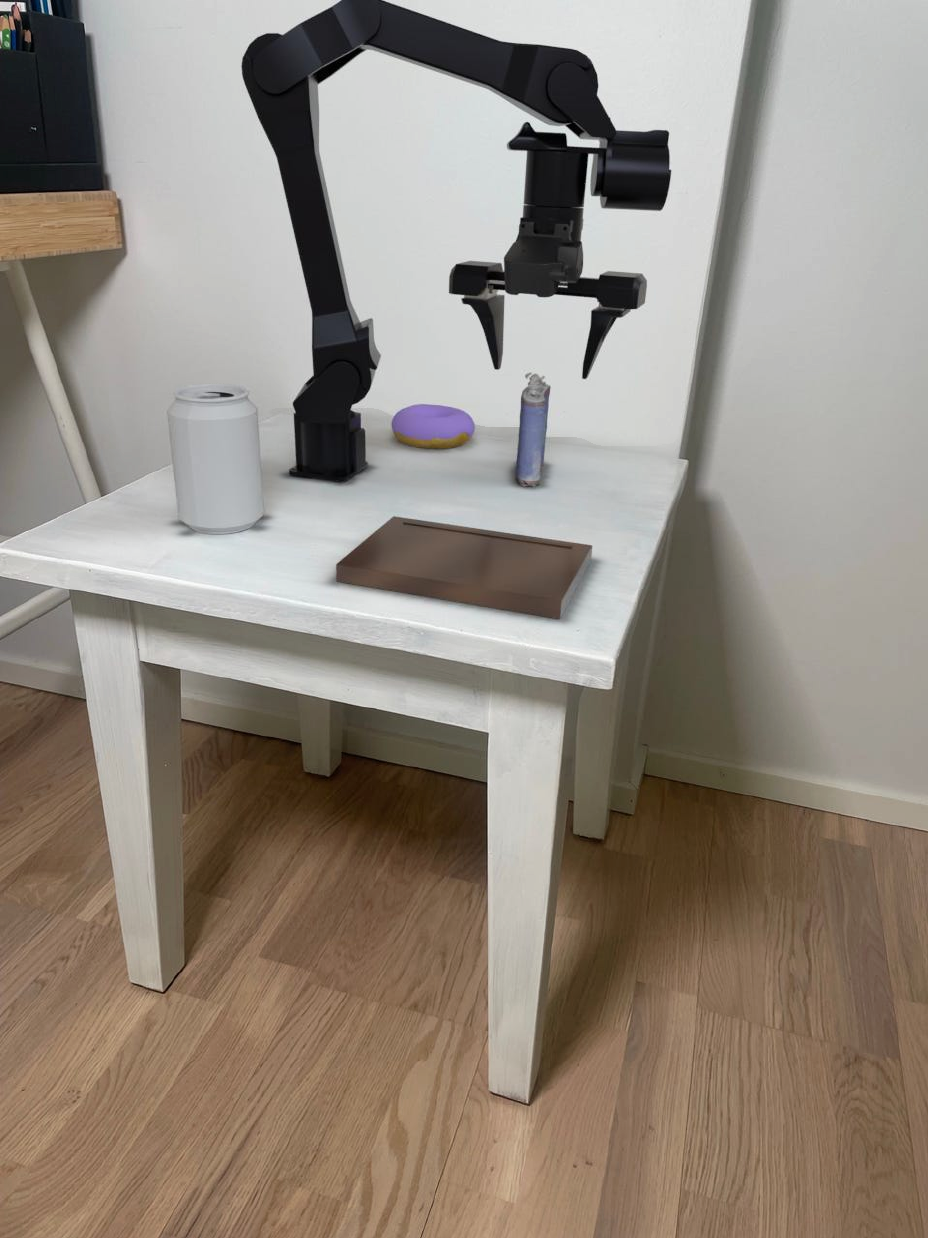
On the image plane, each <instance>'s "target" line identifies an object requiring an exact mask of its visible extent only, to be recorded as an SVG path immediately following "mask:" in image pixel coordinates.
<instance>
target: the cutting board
mask: <svg viewBox="0 0 928 1238" xmlns="http://www.w3.org/2000/svg"><path fill="white" fill-rule="evenodd" d="M592 554H593V545H592V544H587V543H579V542H573V541H567V540H566V541H565V540H559V539H551V538H545V537H539V536H531V535H526V534H517V533H511V532H503V531H499V530H498V531H497V530H490V529H485V528H484V529H483V528H477V527H470V526H463V525H458V524H457V525H456V524H450V523H442V522H437V521H436V522H435V521H428V520H423V519H422V520H421V519H415V518H409V517H401V516H395V515H394V516H392V517H391V518H390V519H389V520H387V521H386V522H384V523H383V524H382V525H381V526H380V527H379V528H378V529H377V530H375V531H374V532H373V533H371V534H370V535H369V536H368V537H367V538H366V539H365V540H363V541H362V542H360V544H359V545H357V546H356V547H355V548H353V550H351V551H350V552H349V553H348V554H347V555H345V556H344V557H342V559H341V560H339V561H338V562H337V563H336V564H335V573H336V575H335V576H336V582H338V583H343V584H349V585H350V584H352V585H356V586H361V587H367V588H368V587H369V588H374V589H379V590H385V591H390V592H391V591H392V592H398V593H402V594H410V595H415V596H421V597H426V598H433V599H439V600H445V601H451V602H456V603H457V602H458V603H461V604H462V603H463V604H469V605H474V606H480V607H487V608H491V609H498V610H503V611H509V612H514V613H515V612H516V613H522V614H526V615H534V616H538V617H544V618H550V619H556V620H560V619H561V618H562V616H563V614H564V612H565V610H566V608H567V607H568V605H569V603H570V601H571V599H572V597H573V595H574V593H575V592H576V590H577V588H578V586H579V584H580V582H581V580H582V578H583V577H584V575H585V573H586V571H587V569H588V567H589V565H590V563H591V562H592Z"/></svg>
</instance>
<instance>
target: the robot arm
mask: <svg viewBox="0 0 928 1238" xmlns="http://www.w3.org/2000/svg"><path fill="white" fill-rule="evenodd" d="M368 50H369V51H374V52H376V53H380V54H383V55H386V56H388V57H392V58H394V59H398V60H401V61H404V62H407V63H410V64H413V65H415V66H417V67H421V68H424V69H427V70H430V71H433V72H436V73H439V74H442V75H445V76H447V77H451V78H454V79H457V80H460V81H463V82H466V83H468V84H471V85H474V86H477V87H480V88H484V89H485V90H488V91H490V92H492V93H494V94H495V95H497V96H498V97H500V98H502V99H504V100H505V101H507V102H508V103H510V104H511V105H513V106H514V107H516V108H518V109H519V110H521V111H523V112H525V113H526V114H528V115H530V116H531V117H533V118H535V119H537V120H539V121H540V122H542V123H544V124H546V125H548V126H554V127H566V128H567V129H568V130H569V131H570V132H572V133H573V134H574V135H575V136H576V137H578V139H580V140H591V141H598V142H599V147H591V146H572V145H568V137H567V136H568V135H567V133H565V132H553V131H552V132H551V131H549V132H548V131H536V130H535V129H534V128H533V126H532V125H531V122H529V121H525V122H524V123H522V125H521V127H520V129H519V131H518V132H517V133H516V135H514V136H513V137H512V138H511V139H510V140H509V141H507V143H506V148H507V150H508V151H514V152H515V151H516V152H526V160H525V162H526V163H525V175H524V177H525V178H524V191H523V206H522V217H520V219H519V225H518V234H517V236H516V239H515V241H514V242H513V243H512V244H511V246H510V247H509V248H508V250H507V251H506V253H505V255H504V257H503V264H502V262H492V261H479V260H467V261H463V262H459V263H455V265H453V267H452V268H451V270H450V273H449V277H448V294H449V295H457V296H463V297H462V298H461V300H460V301H461V303H462V305H468V306H470V307H471V309H472V310H473V311H474V313H475V314H476V316H477V318H478V320H479V322H480V325H481V328H482V330H483V333H484V337H485V340H486V343H487V347H488V352H489V354H490V358H491V362H492V365H493V369H494V370H495V371H496V370H497V371H498V370H500V369H501V368H502V361H503V355H504V332H505V331H504V328H505V325H504V324H505V294H498V292H499V291H505V293H506V294H508V295H511V296H518V295H520V294H523V295H533V296H534V295H535V296H537V297H538V298H551V297H553V296H554V295H556V296H567V297H580V298H591V299H596V300H597V301H596V302H597V303H598V306H597V307H594V308H592V310H591V311H590V326H589V333H588V337H587V342H586V346H585V347H586V348H585V350H584V351H585V352H584V357H583V362H582V373H581V379H582V380H587V379H588V378H589V375H590V373H591V371H592V368H593V367H594V365H595V362H596V360H597V357H598V356H599V353H600V351H601V349H602V346H603V344H604V341H605V340H606V337H607V335H608V334H609V332H610V331H611V329H612V327H613V326H614V324H615V322H616V320H617V319H619V318H623V317H626V315H628V314H629V313H630V312H631V310H638V309H639V308H640V307H642V306H643V305H645V303H646V296H647V288H648V280H647V278H646V277H645V275H644V274H643V273H639V272H629V271H628V272H627V271H612V270H607V271H604V272H603V273H600V274H599V275H598V278H597V277H586V276H582V274H583V269H584V249H583V242H582V231H583V229H584V209H585V208H584V207H585V196H586V187H587V186H586V185H587V175H588V166H589V165H588V163H589V155H592V156H593V157H592V163H591V169H590V170H591V171H590V173H591V174H590V186H589V187H590V188H589V189H590V190H589V191H590V196H591V197H599V202H600V208H601V209H604V210H605V209H606V210H631V211H651V212H661V211H662V210H663V209H664V207H665V205H666V202H667V200H668V199H667V198H668V196H669V195H668V194H669V190H670V186H671V185H670V184H671V179H672V178H671V177H672V169H670V163H671V161H670V160H671V159H670V157H671V156H670V148H669V147H670V146H669V140H670V139H669V138H670V132H669V130H668V129H652V130H647V131H637V130H617V129H616V127H615V125H614V124H613V121H612V120H611V117H610V116H609V114H608V112H607V110H606V109H605V107H604V105H603V104H602V102H601V99H600V98H599V96H598V91H599V78H598V73H597V71H596V68H595V65H594V63H593V61H592V60H591V58H589V57H588V56H587V54H585V53H583V52H581V51H579V50H578V49H575V48H567V47H560V46H552V45H546V44H535V43H519V42H510V41H503V40H498V39H496V38H492V37H490V36H486V35H484V34H481V33H478V32H476V31H472V30H470V29H466V28H463V27H461V26H459V25H455V24H452V23H450V22H447V21H443V20H441V19H437V18H435V17H433V16H429V15H426V14H424V13H420V12H417V11H415V10H412V9H409V8H406V7H404V6H401V5H398V4H395V3H391V2H389V1H386V0H340V1H338V2H336V3H334V4H333V5H332V6H330V7H329V8H326V9H325V10H322V11H320V12H319V13H317V14H315V15H312V16H311V17H310V18H307V19H306V20H304V21H302V22H300V23H298V24H297V25H295V26H293V28H291V29H289V30H288V31H286V32H285V33H283V34H282V33H278V32H266V33H263V34H261V35H258V36H257V37H256V38H255V39H254V40H252V41H251V42H250V43H249V45H248V47H247V48H246V50H245V52H244V54H243V55H242V58H241V67H240V68H241V76H242V79H243V83H244V86H245V88H246V92H247V93H248V96H249V98H250V101H251V103H252V104H251V105H252V106H253V108H254V111H255V113H256V116H257V118H258V121H259V123H260V126H261V127H262V130H263V131H264V133H265V136H266V138H267V140H268V142H269V144H270V146H271V148H272V150H273V153H274V156H275V157H276V160H277V164H278V169H279V173H280V174H279V175H280V178H281V182H282V187H283V191H284V197H285V200H286V205H287V208H288V213H289V217H290V222H291V227H292V231H293V235H294V240H295V243H296V248H297V252H298V257H299V261H300V265H301V270H302V275H303V278H304V283H305V287H306V292H307V297H308V302H309V305H310V309H311V355H312V372H313V373H312V376H311V377H310V378H308V380H307V381H306V382H305V383H303V385H302V387H301V389H300V390H299V392H298V393H297V395H296V397H295V398H294V400H293V402H292V407H293V409H294V412H293V429H294V430H293V431H294V433H293V434H294V449H295V465H294V466H292V467H290V468H289V469H288V475H290V476H297V477H303V478H312V479H319V480H324V481H325V480H326V481H334V482H341V483H343V482H347V481H348V480H349V479H351V478H353V477H355V476H356V475H357V474H360V472H362V471H363V470H365V469H366V468H367V467H369V462H368V461H367V458H366V457H367V455H366V453H367V452H366V451H367V448H366V445H367V444H366V429H365V428H364V427H362V413H361V412H356V411H353V410H352V407H353V406H354V405H357V404H359V403H360V402H362V400H364V399H365V398H366V397H367V395H368V393H369V392H370V391H371V388H372V387H371V386H372V384H373V382H374V379H375V375H376V371H377V369H378V367H379V364H380V361H381V358H382V354H381V353H380V351H379V350H378V348H377V345H376V342H375V331H374V328H375V327H374V319H373V318H372V317H371V318H367V319H365V320H362V321H361V320H360V319H359V317H358V314H357V312H356V310H355V308H354V306H353V303H352V301H351V296H350V292H349V288H348V283H347V277H346V272H345V267H344V263H343V258H342V253H341V249H340V244H339V239H338V233H337V230H336V224H335V221H334V215H333V210H332V207H331V202H330V201H331V200H330V196H329V192H328V187H327V182H326V178H325V177H326V176H325V173H324V167H323V162H322V159H321V153H320V102H319V99H320V98H319V85H320V84H322V83H323V82H324V81H326V80H328V79H329V78H331V77H332V76H333V75H335V74H336V73H337V72H340V70H341V69H343V68H344V67H345V66H346V65H348V64H350V63H351V62H352V61H353V60H354V59H356V58H357V57H358V56H360V55H361V54H363V53H364V52H366V51H368Z"/></svg>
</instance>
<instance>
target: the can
mask: <svg viewBox="0 0 928 1238" xmlns="http://www.w3.org/2000/svg"><path fill="white" fill-rule="evenodd" d="M249 394H250V391H249V390H248V389H247V388H246V387H244V386H240V385H236V384H229V383H199V384H190V385H186V386H182V387H178V388H177V389H175V390H174V391H173V392H172V395H173V396H174V398H175V399H174V400H173V402H172V403H171V404H170V406H169V407H168V408H167V410H166V414H167V423H168V432H169V443H170V451H171V461H172V470H173V480H174V481H173V482H174V489H175V490H174V491H175V500H176V508H177V517H178V518H179V520H180V521H181V522H182V523H184V524H185V525H186V526H188V527H189V529H191V530H193V531H195V532H198V533H202V534H209V535H227V534H228V535H229V534H235V533H240V532H244V531H246V530H248V529H251V528H252V527H253V526H255V525H256V523H257V521H259V520H260V519H262V517H263V516H264V513H265V508H264V507H265V505H264V503H265V502H264V489H263V475H262V474H263V473H262V472H263V471H262V457H261V443H260V441H261V440H260V427H259V426H260V424H259V409H258V407H257V405H256V404H255V403H254V402H252V401H251V399H249V397H248V396H249Z"/></svg>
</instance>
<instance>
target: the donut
mask: <svg viewBox="0 0 928 1238" xmlns="http://www.w3.org/2000/svg"><path fill="white" fill-rule="evenodd" d="M391 429H392V433H393V435H394V437H396V439H397V440H398V441H400V442H401V443H403V444H406V445H409V446H411V447H414V448H415V447H416V448H421V449H432V450H436V449H437V450H439V449H450V448H451V449H452V448H456V447H459V446H462V445H464V444H466V443H467V442H469V441H470V440H471V439H472V437H473V435H474V434H475V431H476V426H475V421H474V420H473V418H472V416H471V415H470V414H469V413H468V412H466V411H464V410H462V409H460V408H458V407H452V406H447V405H441V404H427V403H426V404H425V403H420V404H419V403H418V404H412V405H409V406H407V407H403V408H402V409H400V410H399V411H397V412H396V413H395V414H394V416H393V417H392V419H391Z"/></svg>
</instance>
